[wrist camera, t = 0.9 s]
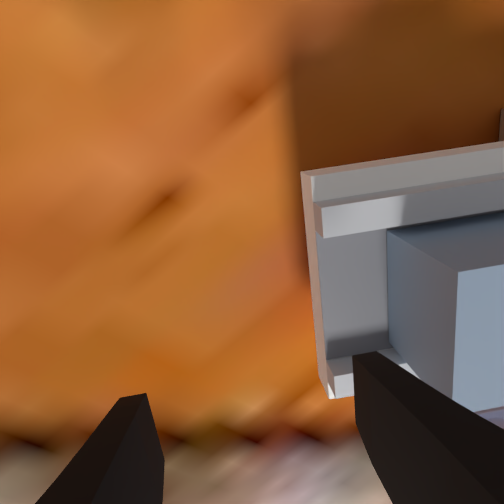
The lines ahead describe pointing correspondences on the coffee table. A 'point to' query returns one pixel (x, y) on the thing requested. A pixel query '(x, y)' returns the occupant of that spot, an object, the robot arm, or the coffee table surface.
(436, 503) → the robot arm
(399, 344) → the rider
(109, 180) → the coffee table surface
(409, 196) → the balance beam
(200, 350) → the coffee table surface
